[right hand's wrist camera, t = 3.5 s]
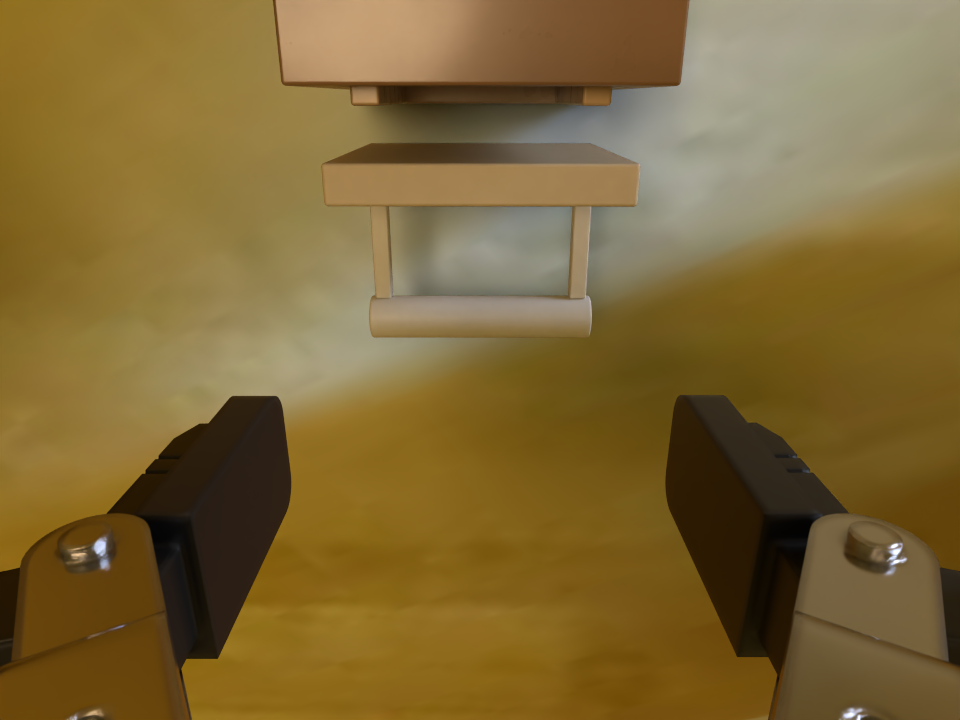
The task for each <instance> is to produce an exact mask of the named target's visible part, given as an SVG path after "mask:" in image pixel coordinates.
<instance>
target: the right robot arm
mask: <svg viewBox="0 0 960 720" xmlns="http://www.w3.org/2000/svg"><path fill="white" fill-rule="evenodd" d="M290 494H291V472H290V464H289V456H288V448H287V440H286V432H285V424H284V416H283V409H282V405H281V402H280V400H279V398H278V397H277V396H232V397H231V398H229V400H228V401H227V402H226V403H225V404H224V406H223V407H222V408H221V409H220V410H219V412H218V413H217V414H216V415H215V416H214V417H213V419H212V420H211V421H210V422H209V423H208V424H198V425H197V426H195V427H193V428H191V429H190V430H188V431H186V432H184V433H183V434H181V435H179V436H178V437H176V438H174V439H173V440H172V441H171V443H170V444H169V445H168V446H167V447H166V448H165V449H164V450H163V451H162V453H161V454H160V455H159V459H155V460H154V461H153V463H152V464H151V465H150V466H149V467H148V468H147V469H146V473H145V474H142V475H141V476H140V477H139V478H138V479H137V480H136V481H135V483H134V484H133V485H132V486H131V487H130V488H129V489H128V490H127V491H126V493H125V494H124V495H123V496H122V497H121V498H120V499H119V500H118V501H117V503H116V504H115V505H114V506H113V507H112V508H111V509H110V510H109V511H108V513H107V514H102V515H96V516H91V517H87V518H83V519H80V520H77V521H74V522H71V523H69V524H66V525H64V526H62V527H60V528H58V529H55V530H54V531H52V532H50V533H49V534H47V535H45V536H44V537H42V538H41V539H40V540H38V541H37V542H36V543H35V544H34V545H33V546H31V547H30V549H29V550H28V551H27V552H26V553H25V555H24V557H23V559H22V561H21V565H20V568H16V569H12V570H8V571H3V572H0V720H192V717H191V712H190V708H189V703H188V698H187V693H186V688H185V684H184V679H183V675H182V670H181V668H182V666H183V664H184V662H185V660H186V659H218V657H219V655H220V653H221V651H222V649H223V647H224V644H225V642H226V640H227V638H228V636H229V634H230V632H231V629H232V627H233V625H234V623H235V621H236V619H237V617H238V615H239V612H240V610H241V608H242V606H243V604H244V602H245V600H246V597H247V595H248V593H249V591H250V589H251V587H252V585H253V582H254V580H255V578H256V576H257V574H258V572H259V570H260V568H261V565H262V563H263V561H264V559H265V557H266V555H267V553H268V550H269V548H270V546H271V544H272V542H273V540H274V538H275V535H276V533H277V531H278V529H279V527H280V525H281V523H282V521H283V518H284V516H285V514H286V512H287V509H288V506H289V501H290ZM666 496H667V502H668V506H669V509H670V512H671V514H672V516H673V518H674V521H675V523H676V525H677V527H678V529H679V531H680V534H681V536H682V538H683V540H684V542H685V544H686V547H687V549H688V551H689V553H690V555H691V557H692V560H693V562H694V564H695V566H696V568H697V570H698V573H699V575H700V577H701V579H702V581H703V583H704V586H705V588H706V590H707V592H708V594H709V597H710V599H711V601H712V603H713V605H714V607H715V610H716V612H717V614H718V616H719V618H720V620H721V623H722V625H723V627H724V629H725V631H726V633H727V636H728V638H729V640H730V642H731V644H732V646H733V649H734V651H735V653H736V655H737V657H769V659H770V661H771V663H772V665H773V667H774V669H775V671H776V673H777V679H776V684H775V688H774V693H773V698H772V703H771V708H770V712H769V717H768V720H960V571H955V570H950V569H945V568H941V567H940V565H939V561H938V559H937V557H936V555H935V553H934V552H933V551H932V550H931V549H930V547H929V546H927V545H926V544H925V543H924V542H923V541H922V540H920V539H919V538H918V537H916V536H915V535H913V534H911V533H910V532H908V531H906V530H905V529H902V528H900V527H898V526H896V525H894V524H891V523H889V522H886V521H883V520H880V519H877V518H873V517H869V516H864V515H858V514H849V513H848V511H847V510H846V509H845V508H844V507H843V506H842V505H841V504H840V502H839V501H838V500H837V499H836V498H835V497H834V496H833V495H832V493H831V492H830V491H829V490H828V489H827V488H826V487H825V486H824V485H823V483H822V482H821V481H820V480H819V479H818V478H817V477H816V476H815V474H814V473H810V469H809V468H808V467H807V465H806V464H805V463H804V462H803V461H802V460H801V459H800V458H797V454H796V453H795V452H794V451H793V450H792V449H791V447H790V446H789V445H788V444H787V443H786V442H785V441H784V440H783V438H782V437H780V436H778V435H776V434H775V433H773V432H771V431H770V430H768V429H766V428H764V427H763V426H761V425H759V424H758V423H747V422H746V420H745V419H744V418H743V417H742V416H741V414H740V413H739V412H738V411H737V409H736V408H735V407H734V406H733V405H732V403H731V402H730V401H729V400H728V399H727V398H726V397H725V396H724V395H680V396H679V397H678V398H677V400H676V402H675V406H674V411H673V419H672V428H671V436H670V444H669V452H668V460H667V469H666Z"/></svg>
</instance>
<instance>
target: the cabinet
mask: <svg viewBox="0 0 960 720" xmlns="http://www.w3.org/2000/svg"><path fill="white" fill-rule="evenodd" d="M273 5H274V14H275V24H276V34H277V44H278V53H279V63H280V73H281V82H282V84H283V85H286V86H300V87H317V88H333V89H350V86H612V90H615V89H633V88H650V87H667V86H677V85H679V84H680V82H681V74H682V65H683V55H684V46H685V36H686V27H687V17H688V8H689V0H273Z"/></svg>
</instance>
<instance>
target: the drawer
mask: <svg viewBox="0 0 960 720" xmlns="http://www.w3.org/2000/svg"><path fill="white" fill-rule="evenodd" d="M611 92H612V86H350V94H351V103H352V105H354V106H378V105H391V104H403V103H557V104H570V105H582V106H608V105H610V103H611ZM321 168H322V180H323V192H324V203H325V205H326V206H370V212H371V228H372V245H373V261H374V278H375V294H376V296H372V298H371V301H370V310H369V321H370V330H371V334H372V336H373V337H589V335H590V331H591V324H592V307H591V300H590V298H589V296H586V284H587V268H588V252H589V236H590V220H591V206H633V207H634V206H636V205H637V200H638V189H639V178H640V164H638V163H635V162H633V161H631V160H628V159H626V158H623V157H621V156H619V155H616V154H614V153H611V152H609V151H607V150H604V149H602V148H600V147H597V146H595V145H592V144H511V143H371V144H369V145H366V146H364V147H361V148H359V149H357V150H354V151H352V152H350V153H347V154H345V155H342V156H340V157H338V158H335V159H333V160H331V161H328V162H326V163H324V164H322V166H321ZM389 206H572V224H571V243H570V262H569V281H568V295H569V296H392V295H393V278H392V258H391V238H390V218H389Z"/></svg>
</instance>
